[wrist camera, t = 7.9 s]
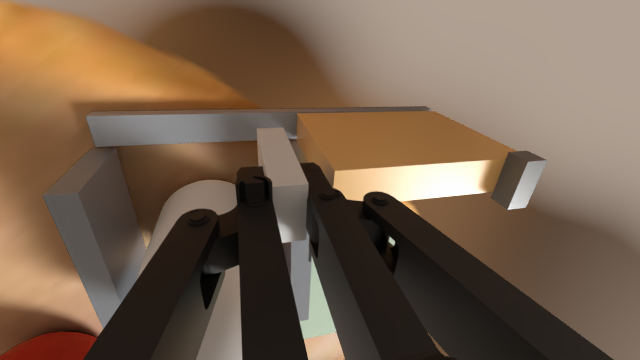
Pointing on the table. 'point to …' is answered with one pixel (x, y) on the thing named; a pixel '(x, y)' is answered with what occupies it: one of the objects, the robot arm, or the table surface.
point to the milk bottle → (225, 323)
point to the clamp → (116, 205)
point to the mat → (319, 309)
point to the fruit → (52, 347)
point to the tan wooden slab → (415, 157)
